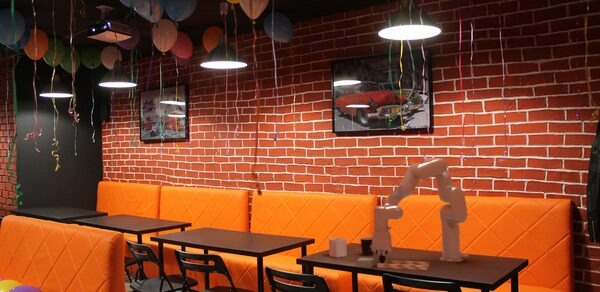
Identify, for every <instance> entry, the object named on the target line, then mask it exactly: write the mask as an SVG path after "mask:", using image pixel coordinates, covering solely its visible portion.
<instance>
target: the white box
mask: <svg viewBox="0 0 600 292" xmlns="http://www.w3.org/2000/svg"><path fill="white" fill-rule="evenodd" d="M328 251H329V252H328V255H329V257H331V258H344V257H347V255H348V253H347V251H348V250H347V238H345V237H333V238H332V237H331V238H329V239H328Z"/></svg>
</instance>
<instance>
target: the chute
mask: <svg viewBox="0 0 600 292" xmlns="http://www.w3.org/2000/svg"><path fill="white" fill-rule="evenodd" d="M376 264H377V269H378V268H379V269H380V268H381V269H394V270H395V269H396V270H397V269H398V270H414V271H417V270H418V271H428V270H429V267H430V262H429V261H411V260H393V259H392V260H389V259H388V260H387V259H385V262H384V263H380V262H379V263H376Z"/></svg>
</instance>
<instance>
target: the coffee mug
mask: <svg viewBox="0 0 600 292" xmlns="http://www.w3.org/2000/svg"><path fill="white" fill-rule="evenodd" d="M372 237H373V236H372ZM372 237H369V236H367V237H366V236H365V237H361V238H360V239H359V240H360V245H361V251H362V252H361V253H362V256H364V257H365V256H366V257H373V256H374V252H373V251H372Z"/></svg>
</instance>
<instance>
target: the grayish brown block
mask: <svg viewBox="0 0 600 292" xmlns="http://www.w3.org/2000/svg"><path fill="white" fill-rule="evenodd" d="M356 266H357V268H366V269H367V268H370V269H371V268H374V266H375V258H369V257H359V258H358V259H357V260H356Z"/></svg>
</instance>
